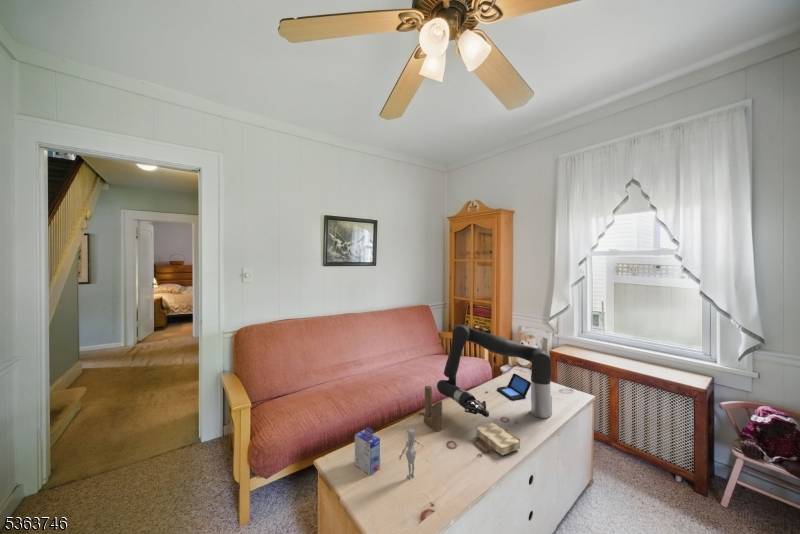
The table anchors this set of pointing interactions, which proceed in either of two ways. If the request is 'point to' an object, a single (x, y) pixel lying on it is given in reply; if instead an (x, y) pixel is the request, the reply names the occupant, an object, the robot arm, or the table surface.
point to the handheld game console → (516, 388)
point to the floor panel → (486, 447)
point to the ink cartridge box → (367, 451)
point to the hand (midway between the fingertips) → (487, 414)
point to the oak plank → (498, 438)
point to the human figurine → (410, 451)
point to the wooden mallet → (432, 411)
